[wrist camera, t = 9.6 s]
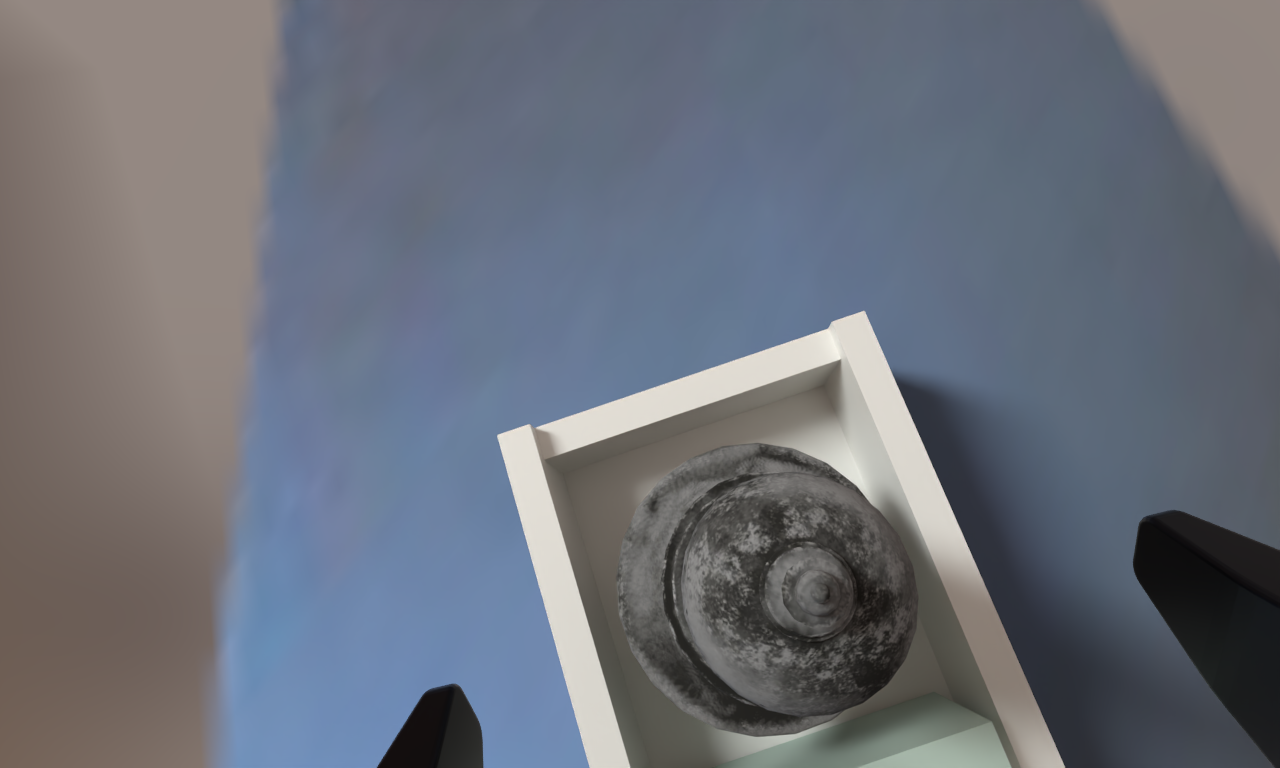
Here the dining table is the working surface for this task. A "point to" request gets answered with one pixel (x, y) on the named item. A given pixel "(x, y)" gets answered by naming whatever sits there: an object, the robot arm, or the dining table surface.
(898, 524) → the box
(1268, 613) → the robot arm
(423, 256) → the dining table surface
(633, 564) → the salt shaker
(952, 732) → the bar
